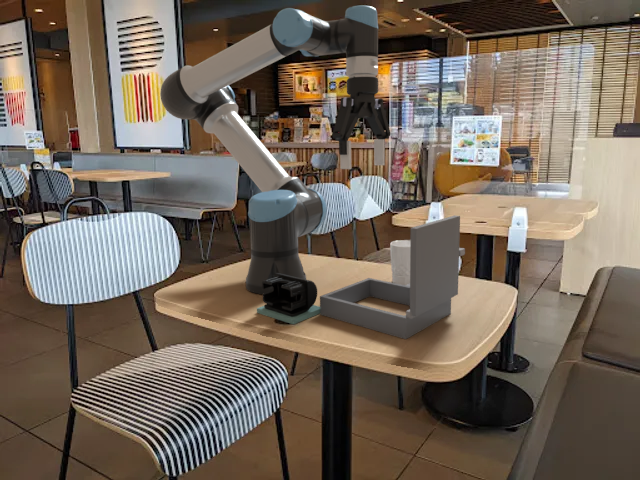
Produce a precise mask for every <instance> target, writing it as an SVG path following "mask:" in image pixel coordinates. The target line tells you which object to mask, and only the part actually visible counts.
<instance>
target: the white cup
mask: <svg viewBox="0 0 640 480" xmlns="http://www.w3.org/2000/svg"><path fill="white" fill-rule="evenodd" d="M389 246H390V250H389V251H390V264H391V268H390V269H391V277H392V281H391V283H396V284H401V285H407V284H410V239H404V240H401V239H400V240H393V241H391V242H390V245H389Z"/></svg>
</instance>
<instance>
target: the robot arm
mask: <svg viewBox="0 0 640 480" xmlns="http://www.w3.org/2000/svg"><path fill="white" fill-rule="evenodd" d="M344 13H345V15H344V18H341V19H336V20H335V19H333V20H324V19H323V20H322V19H320V18H318V17H316V16H312V15H311V14H309V13H306V12H305V11H304V10H301V9H298V8H297V9H295V8H292V7H287V8H283V9H281V10H279V12H277V14H276V16H275V17H274V18H273V21H272V23H271V24H269V25H267V26H266V27H264V28H262V29H260V30H259V31H256V32H254V33H253V34H250V35H249V36H247V37H245V38H244V39H241V40H240V41H238V42H236V43H234V44H233V45H231V46H228V47H226V48H225V49H223V50H221V51H219V52H218V53H215V54H213V55H212V56H210V57H208V58H207V59H204V60H203V61H202V62H200V63H198V64H196V65H193V66H192V65H188V64H187V65H184V66H182V67H180V68H178V69H177V70H175V71H174V72H172V73H170V74H169V75H168V76H167V77H166V78H165V79H164V81H162V84H161V88H160V94H159V95H160V100H161V104H162V105H163V107H164V109H165V110H166V111H167V113H169V114H170V115H171V116H172V117H175V118H177V119H180V120H190V121H191V120H194V121H196V122H197V124H199V126H200V127H201V128H202V129H203V131H204V132H205V133H206V134H214V136H215V137H216V138H217V139H218V140H219V141H220V143H221V144H222V145H223V146H224V147H225V149H226V150H227V151H228V152H229V154H230V155H231V157H233V159H234V160H235V161H236V162H237V164H238V165H239V166H240V167H241V168H242V170H243V171H244V173H246V174H247V176H248V177H249V178H250V179H251V181H252V182H254V184H255V185H256V186H257V188H258V189H259V190H260V192H258V193H256V194H254V195H252V196H251V197H250V198H249V200H248V212H247V216H248V221H249V239H250V253H251V256H250V257H251V258H250V262H249V267H248V270H247V275H246V277H245V288H246V290H247V291H248V292H251V293H253V294H258V295H263V294H266V293H269V292H271V291H272V289H273V288H272V286H271V287H268V288H265V289H262V282H263V281H265V280H268V279H272V278H274V274H275V273H280V274H285V275H289V276H293V277H297V278H302V279H306V280H307V274H306V273H305V271H304V268H303V264H302V260H301V258H300V255H299V237H302V236H305V235H307V234H308V235H309V234H311V233H314V232H315V231H316V230H318V229H319V228H320V227H321V226H322V225H323V224H324V222H325V220H326V217H327V210H328V208H327V203H326V200H325V198H324V196H323V195H322V194H321V193H320V192H319V191H317V190H315V189H312V188H308V187H307V186H306V185H305V184H304V182H303V181H302V180H301V179H300V178H299V177H298V176H290V175H289V174H288V172H287V171H286V170H285V169H284V167H283V166H282V165H281V164H280V163H279V161H278V160H277V159H276V158H275V157H274V155H273V154H272V152H270V151H269V150H268V148H267V147H266V146H265V144H264V143H263V142H262V141H261V140H260V139H259V138H258V137H257V135H256V134H255V133H254V131H253V130H252V129H251V128H250V127H249V125H248V124H247V123H246V122H245V121H244V119H242V117H241V116H240V115H239V105H238V104H237V102H236V100H235V98H236V95H235V92H234V90H233V89H232V87H231V86H230V85H232V84H234V83H236V82H238V81H240V80H242V79H244V78H246V77H248V76H250V75H252V74H253V73H256V72H258V71H260V70H261V69H263V68H265V67H267V66H270V65H272V64H273V63H276V62H278V61H279V60H282V59H283V58H285V57H288V56H289V55H292V54H294V53H296V52H298V51H300V52H301V54H302V55H303V56H304V57H315V58H316V57H317V58H318V57H319V56H327V55H336V54H337V55H338V54H345V55H346V57H345V62H346V63H345V66H346V67H345V68H346V69H345V71H346V73H345V74H346V76H347V77H348V78H347V79H346V94H347V95H348V96H347V97H346V96H344V97H341V98H340V107H339V110H338V112H337V113H338V115H337V117H336V120H335V124H334V126H333V127H334V128H333V131H332V135H331V136H332V138H333V139H334V140H335V142H338V151H339V152H338V153H339V160H340V161H339V162H340V163H339V164H340V165H339V167H340V170H352V140H349V138H350V136H351V135H352V133H353V130H354V129H355V127H356V125H357V122H359V121H358V120H359V119H361V118H364V119H365V120H367V122H368V125H369V126H370V128H371V130H372V133H373V134H374V136H375V138H376V139H373V153H374V154H373V157H374V158H373V159H374V160H373V163H374V164H373V165H374V166H385V165H386V163H385V156H386V155H385V152H386V140H388V139H389V138H390V137H391V135H392V133H391V130H390V126H389V123H388V119H387V116H386V112H385V108H384V99H383V98H376V97H375V95H377V94H378V93H379V78H378V77H376V76H378V74H379V22H378V11H377V9H376V7H373V6H370V5H353V6H349V7H348V8H346V10H345V12H344Z"/></svg>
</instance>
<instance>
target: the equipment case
mask: <svg viewBox="0 0 640 480" xmlns="http://www.w3.org/2000/svg"><path fill="white" fill-rule="evenodd" d="M460 228H461V216H460V215H451V216H449V217H448V216H447V217H443V218H441V219H437V220H434V221H430V222H427V223H423V224H420V225H417V226H413V227H410V236H409V237H410V239H409V240H410V284H407V285H401V284H396V283H393V282H392V281H386V280H381V279H376V278H370V277H368V278H365V279H362V280H359V281H357V282H354V283H352V284H348V285H346V286H343V287H341V288H338V289H336V290H332V291H330V292H328V293H325V294H322V295H320V296H319V307H320V314H319V315H321V316H325V317H328V318H331V319H334V320H337V321H341V322H345V323H348V324H352V325H355V326H359V327H362V328H365V329H369V330H373V331H376V332H380V333H383V334H387V335H391V336H393V337H397V338H401V339H404V340H407V339H409V338H411V337H412V336H414V335H415V334H417V333H419V332H422V331H423V330H424V329H426V328H428V327H430V326H431V325H433V324H435V323H437V322H439V321H440V320H442V319H444V318H445V317H447V316H449V315H451V314H452V298H454V297H455V296H458V295H459V271H460V270H459V268H460V267H459V266H460V263H459V262H460V257H462V256H465V254H466V248H464V247H460V238H461V235H460V233H461V229H460ZM369 297H371V298H376V299H381V300H383V301H389V302H393V303H397V304H400V305H405V306H409V309H407V310H406V311H405V315H403V314H399V313H397V312H396V313H395V312H391V311H386V310H383V309H380V308H376V307H371V306H367V305H363V304H360V303H357V302H360V301H362V300H364V299H366V298H369Z"/></svg>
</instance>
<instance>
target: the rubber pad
mask: <svg viewBox="0 0 640 480" xmlns="http://www.w3.org/2000/svg"><path fill="white" fill-rule="evenodd" d="M256 313H257V314H260V315H263V316H266V317H270V318H273V319H275V320H278V321H281V322H284V323H287V324H288V323H289V324H291V325H295V324H298V323H300V322H302V321H304V320H307V319H309V318H313V317H314V316H317V315H320V305H315V304H314V305H313V306H312V307H311V308H310V309H309V310H308V311H307V312H305V313H302V314H300V315H297V316H295V317H291V316H288V315H285V314H281V313H278V312H275V311H272V310H269V309H265V308H264V305H262V306H259V307H256Z"/></svg>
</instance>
